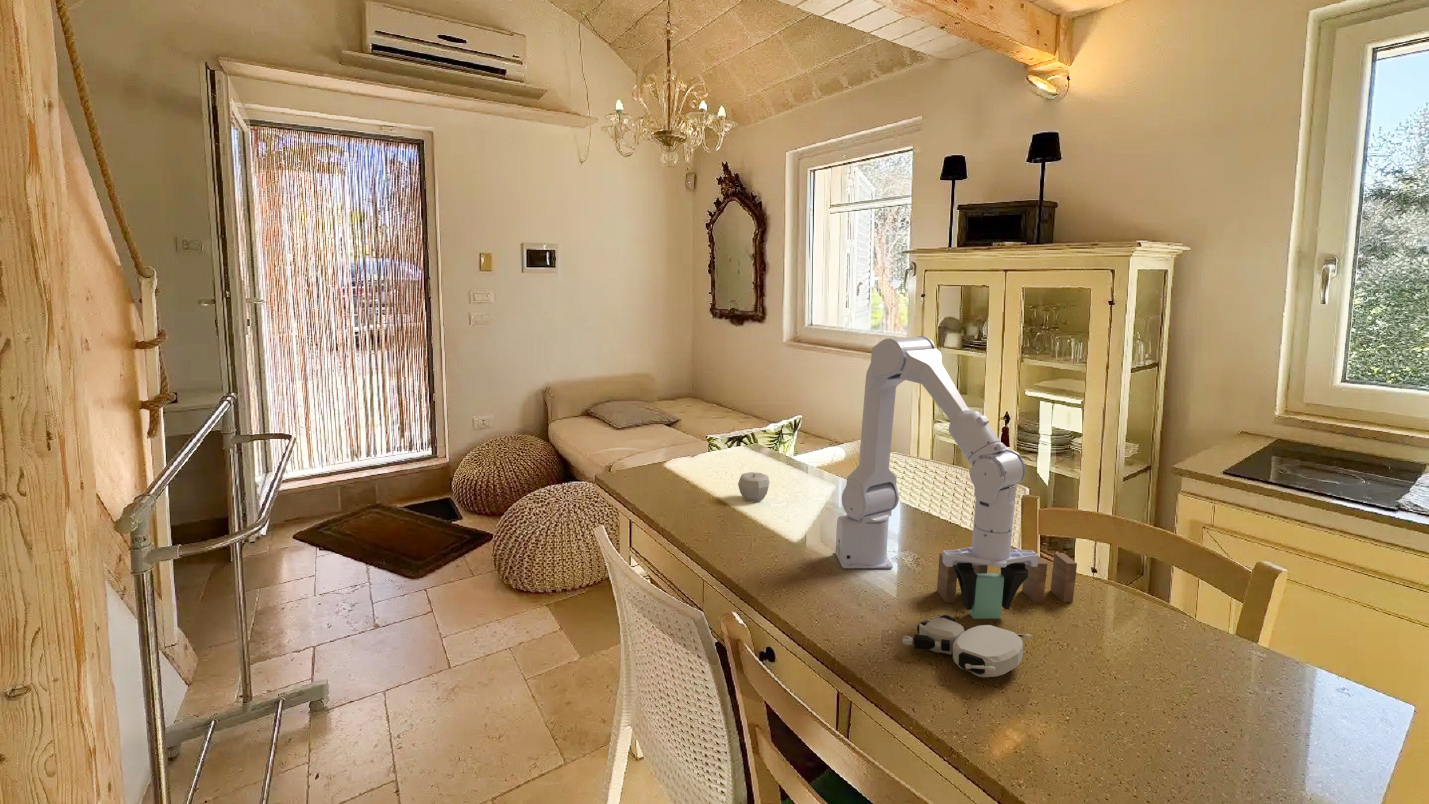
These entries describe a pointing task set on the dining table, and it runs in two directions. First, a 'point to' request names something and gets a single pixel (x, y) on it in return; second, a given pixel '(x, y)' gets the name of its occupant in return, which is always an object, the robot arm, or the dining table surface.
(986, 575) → the teal domino
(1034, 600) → the walnut domino
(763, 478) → the apple
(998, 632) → the robot toy
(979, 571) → the walnut domino
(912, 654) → the dining table surface
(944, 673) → the dining table surface
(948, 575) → the walnut domino
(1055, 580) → the walnut domino
